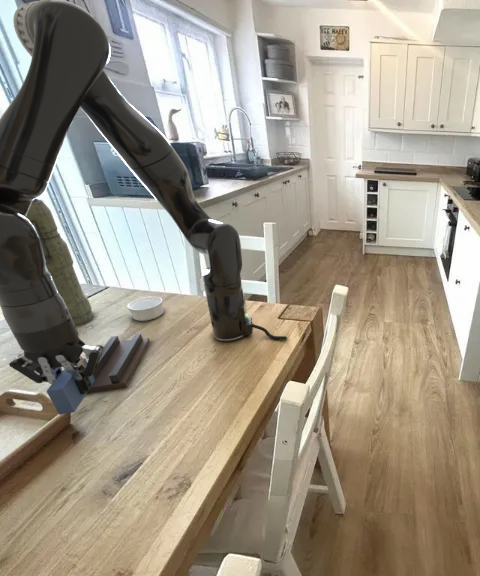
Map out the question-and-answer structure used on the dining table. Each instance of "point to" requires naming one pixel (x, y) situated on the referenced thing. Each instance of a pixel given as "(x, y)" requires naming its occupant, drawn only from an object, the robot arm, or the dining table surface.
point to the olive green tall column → (59, 262)
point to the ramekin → (146, 308)
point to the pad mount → (118, 363)
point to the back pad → (66, 392)
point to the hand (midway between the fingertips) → (76, 392)
